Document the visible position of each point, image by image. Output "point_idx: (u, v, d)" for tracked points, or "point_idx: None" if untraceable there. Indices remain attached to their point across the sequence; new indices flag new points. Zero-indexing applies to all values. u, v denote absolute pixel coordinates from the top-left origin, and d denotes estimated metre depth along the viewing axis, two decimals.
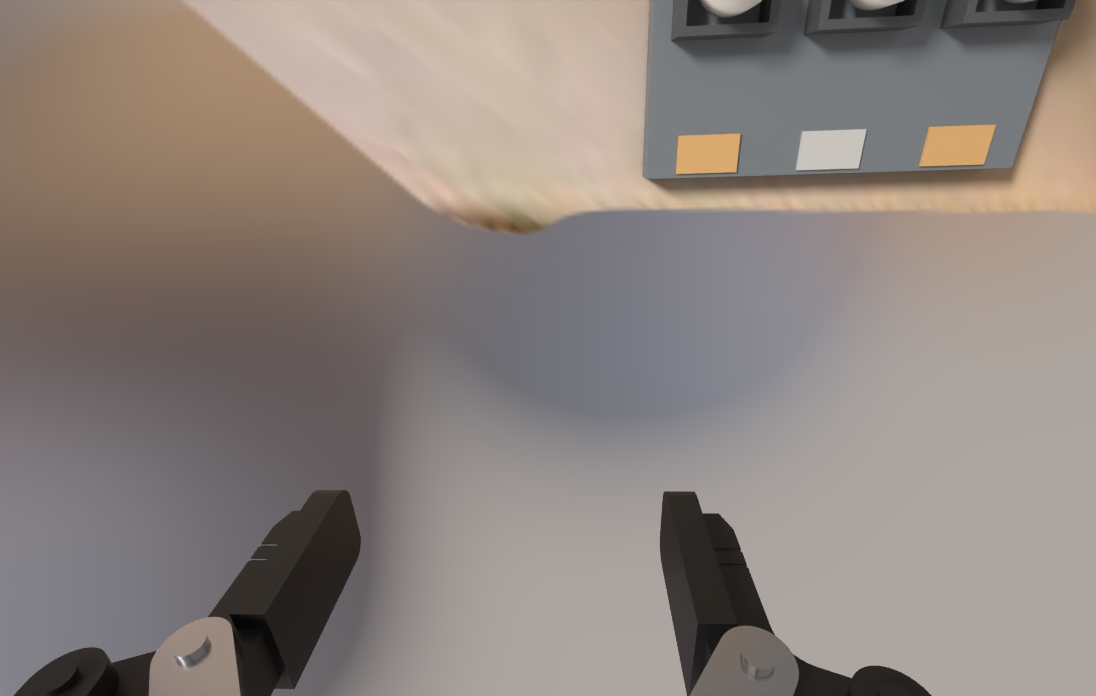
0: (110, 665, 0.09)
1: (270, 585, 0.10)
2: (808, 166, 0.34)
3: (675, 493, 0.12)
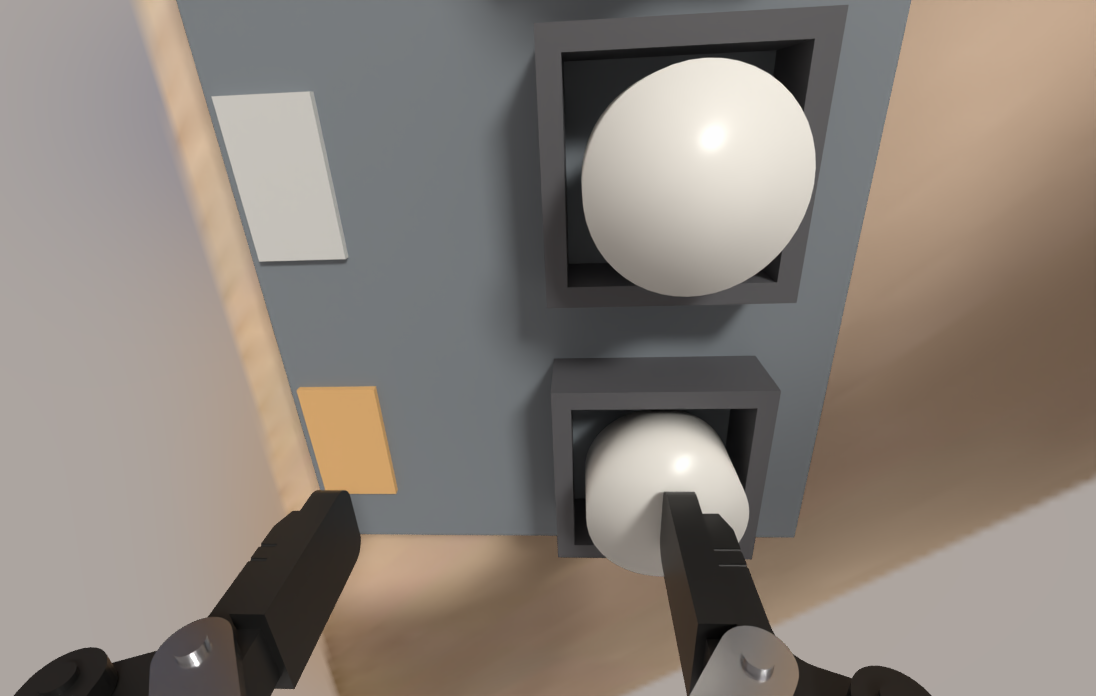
0: (110, 665, 0.09)
1: (270, 585, 0.10)
2: (230, 127, 0.12)
3: (675, 493, 0.12)
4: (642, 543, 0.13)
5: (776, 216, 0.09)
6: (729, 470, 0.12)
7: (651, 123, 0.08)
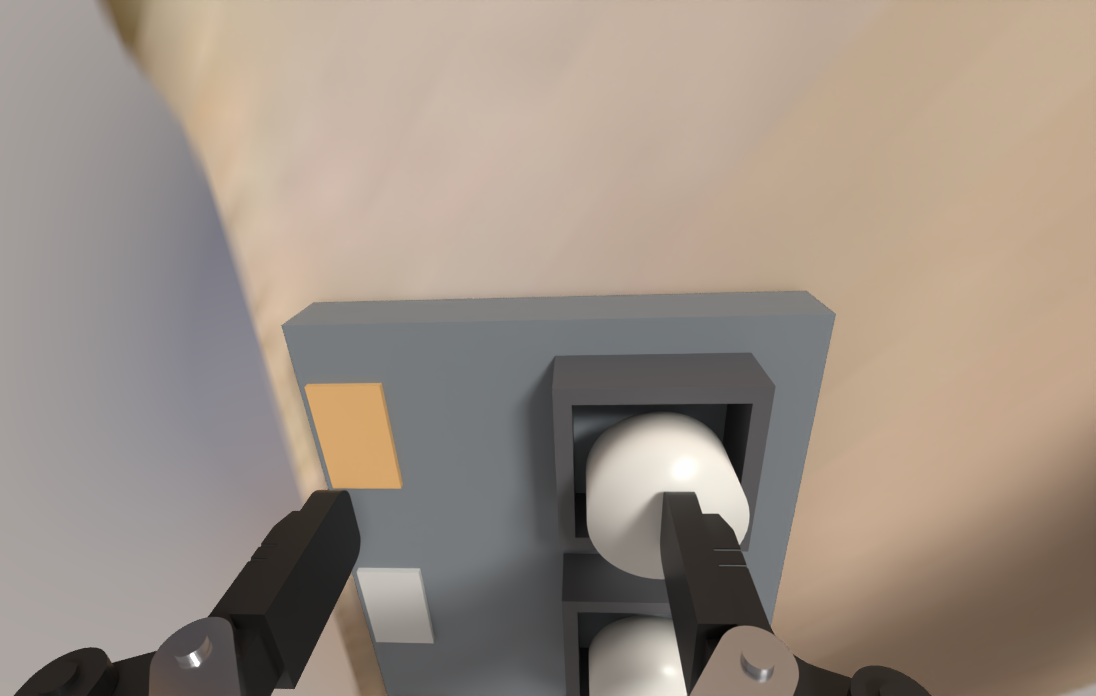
0: (110, 665, 0.09)
1: (270, 585, 0.10)
2: (366, 585, 0.19)
3: (675, 493, 0.12)
4: None
5: None
6: None
7: (627, 693, 0.16)
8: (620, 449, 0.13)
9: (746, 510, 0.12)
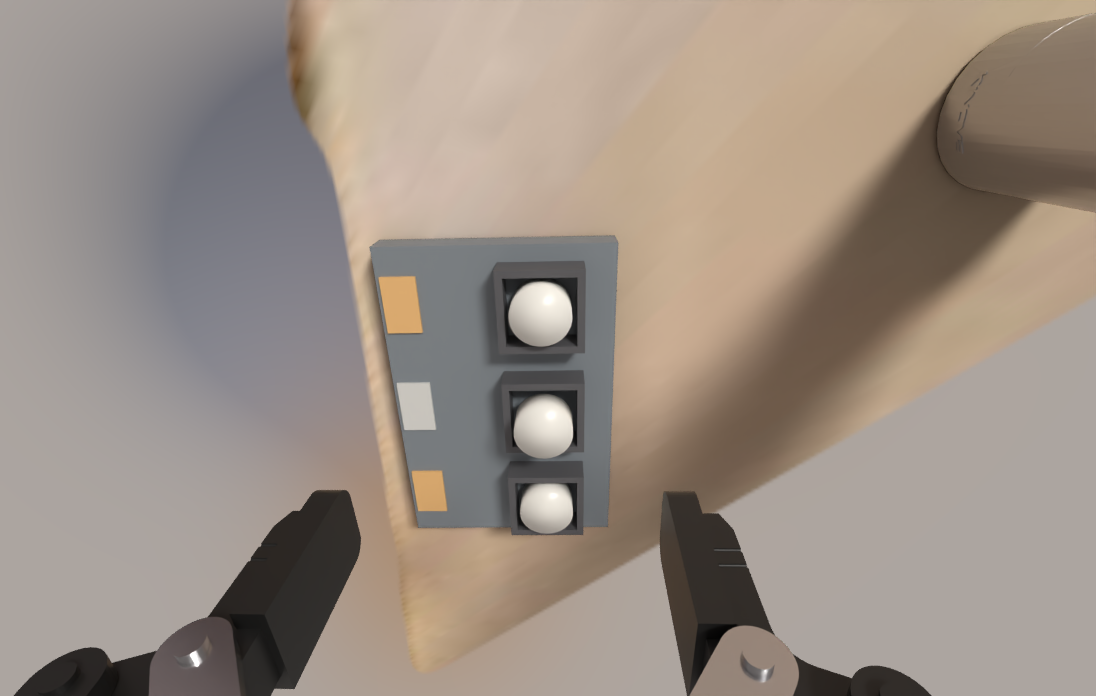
0: (110, 665, 0.09)
1: (270, 585, 0.10)
2: (401, 392, 0.37)
3: (675, 493, 0.12)
4: (539, 522, 0.39)
5: (564, 440, 0.34)
6: (565, 498, 0.38)
7: (530, 420, 0.34)
8: (522, 288, 0.32)
9: (570, 311, 0.31)
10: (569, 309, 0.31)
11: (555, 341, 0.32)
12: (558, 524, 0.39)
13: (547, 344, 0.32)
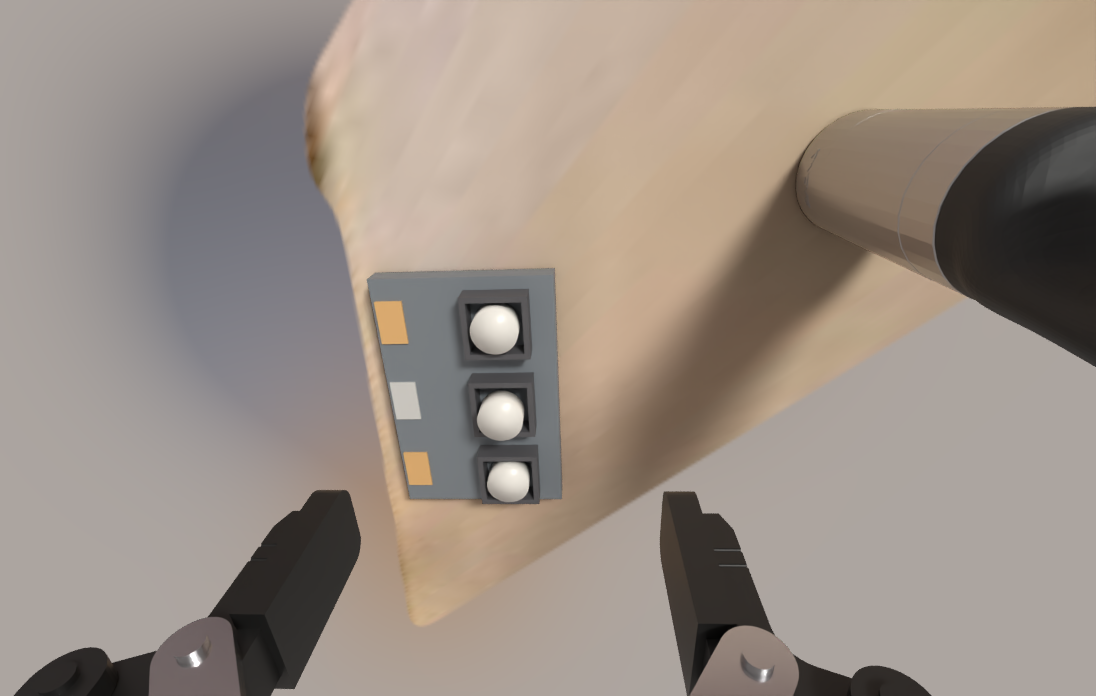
0: (110, 665, 0.09)
1: (270, 585, 0.10)
2: (393, 389, 0.48)
3: (675, 493, 0.12)
4: (502, 492, 0.49)
5: (516, 426, 0.44)
6: (521, 473, 0.48)
7: (489, 411, 0.44)
8: (480, 311, 0.42)
9: (516, 328, 0.42)
10: (515, 326, 0.41)
11: (506, 350, 0.42)
12: (517, 494, 0.49)
13: (500, 352, 0.43)
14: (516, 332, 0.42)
